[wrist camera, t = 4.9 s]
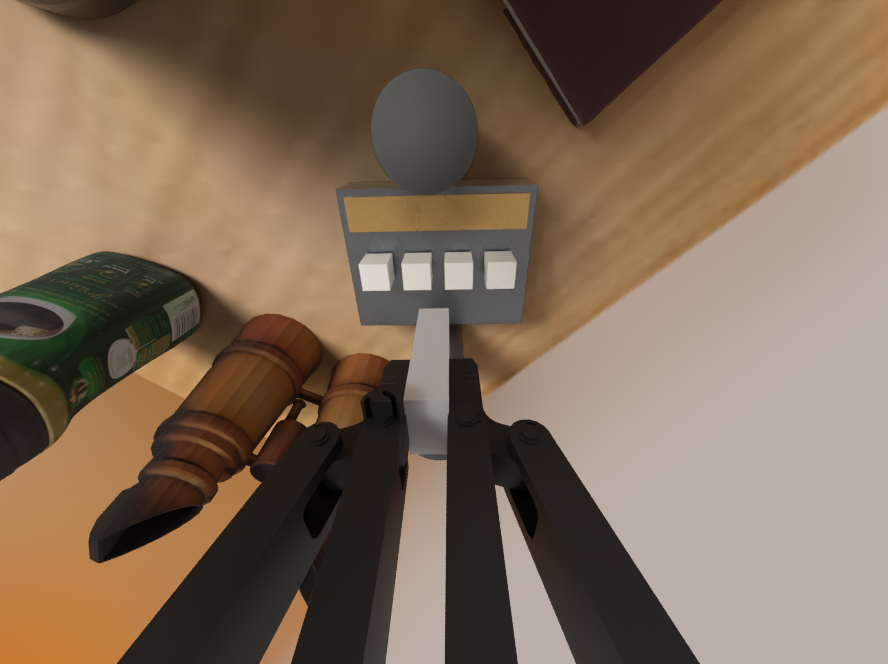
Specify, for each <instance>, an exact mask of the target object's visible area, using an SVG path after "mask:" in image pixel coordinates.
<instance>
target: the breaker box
mask: <svg viewBox="0 0 888 664" xmlns="http://www.w3.org/2000/svg"><path fill="white" fill-rule="evenodd" d="M537 189H538V185H537V184H536V183H534V182H532V181H530V180H528V179H527V178H509V179H468V180H460V181H458V182H457V183H456V184H455V185H454V186H452V187H451V188H449V189H447V190H445V191H443V192H440V193H436V194H429V195H423V194H416V193H412V192H409V191H407V190H405V189H403V188H401V187H400V186H398V185H397V184H396V183H394V182H393V181H384V182H350V183H348V184H346V185H344V186H342V187H340V188H338V189H336V194H337V199H338V205H339V210H340V215H341V221H342V226H343V231H344V237H345V242H346V247H347V253H348V258H349V263H350V269H351V274H352V280H353V285H354V290H355V296H356V301H357V306H358V312H359V317H360V322H361V325H416V324H417V319H418V313H419V309H436V308H449V324H502V323H521V320H522V312H523V304H524V295H525V287H526V279H527V271H528V263H529V254H530V246H531V238H532V230H533V222H534V213H535V205H536V197H537ZM488 251H511V252H512V254H513V256H514V258H515V259H516V261H517V265H516V275H515V285H514V289H486V285H485V281H484V277H483V272H484V252H488ZM445 252H471V254H472V259H473V289H457V290H445V267H444V260H445ZM383 253H392V256H393V265H394V274H395V279H394V282H393V284H392V287H391V290H390V291H363V288H362V283H361V277H360V271H359V263H360V262H361V260H362V259H363V257H364V256H365V255H366V254H383ZM405 253H432V274H433V279H432V288H431V290H404V287H403V276H402V266H401V263H402V261H403V258H404V255H405Z"/></svg>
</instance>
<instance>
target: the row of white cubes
mask: <svg viewBox="0 0 888 664" xmlns="http://www.w3.org/2000/svg"><path fill="white" fill-rule="evenodd" d="M516 265H517V261H516V259H515V258H514V256H513V254H512V252H511V251H488V252H484V272H483V277H484V281H485V285H486V289H514V285H515V275H516ZM401 266H402V276H403V287H404V290H431V288H432V279H433V274H432V253H405V255H404V258H403V261H402V263H401ZM444 267H445V290H457V289H473V259H472V254H471V252H445V260H444ZM359 271H360V277H361V283H362V288H363V291H390V290H391V287H392V284H393V282H394V279H395V274H394V265H393V256H392V253H383V254H366V255H365V256H364V257H363V259H362V260H361V262H360V263H359Z"/></svg>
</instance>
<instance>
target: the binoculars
mask: <svg viewBox="0 0 888 664" xmlns="http://www.w3.org/2000/svg"><path fill="white" fill-rule="evenodd" d="M321 357H322V351H321V347H320V343H319V342H318V340H317V338H316V337H315V335H314V334H313V333H312V332H311V331H310V330H309V329H308V328H307V327H306V326H305V325H303V324H301V323H300V322H298V321H296V320H294V319H293V318H289V317H286V316H283V315H279V314H263V315H260V316H256V317H254V318H252V319H251V320H250V321H248V322H247V323H246V324H245V325H244V327H243V328H242V329H241V331H240V332H239V334H238V335H237V336H236V338H235V339H234V340H233V342H232V343H231V344H230V345H229V346H227V347H226V348H225V349H223V350H222V351H221V352H220V353H219V354H218V355H217V356H216V358H215V360H214V362H213V364H212V367H211V368H210V369H209V371H208V372H207V373H206V374H205V376H204V377H203V378H202V379H201V381H200V382H199V383H198V384H197V386H196V387H195V388H194V389H193V390H192V392H191V393H190V394H189V395H188V397H187V398H186V399H185V401H184V402H183V403H182V404H181V405H180V407H179V408H178V409H177V410H176V412H175V413H174V414H173V415H172V416H171V417H169V418H167V419H166V420H165V421H164V422H163V423H162V424H161V425H160V426H159V427H158V428H157V430H156V432H155V435H154V442H153V444H152V446H151V451H152V455H153V459H152V460H151V461H150V462H149V463H148V464H147V465H146V466H145V467H144V468H143V469H142V470H141V471H140V473H139V476H138V480H139V483H137V484H136V485H134V486H132V487H131V488H128V489H126V490H123V491H122V492H121V493H120V494H119V495H118V496H117V497H116V498H115V500H114V501H113V502H112V503H111V504H110V505H109V506H108V507H107V509H106V510H105V511H104V512H103V513H102V514H101V515H100V516H99V518H98V519H97V520H96V522H95V524H94V526H93V528H92V530H91V532H90V537H89V554H90V559H91V560H93V561H95V562H97V563H102V562H105V561H108V560H111V559H113V558H116V557H119V556H121V555H124V554H126V553H128V552H130V551H133V550H135V549H138V548H140V547H142V546H144V545H146V544H148V543H150V542H152V541H154V540H157V539H159V538H161V537H162V536H164V535H166V534H168V533H170V532H172V531H173V530H175V529H177V528H179V527H180V526H182V525H183V524H185V523H187V522H188V521H190V520H191V519H192V518H194V517H195V516H196V515H197V514H199V513H200V511H201V510H202V508H203V505H205V504H207V503H209V502H211V500H212V499H213V497H214V496H215V494H216V493H217V491H218V485H217V483H219V482H224V481H226V480H228V479H230V478H231V477H232V476H233V475H235V474H237V473H239V472H240V471H242V470H243V469H244V468H245V466H246V465H248V466H251V467H250V472H251V475H252V476H253V477H254V478H255V479H257V480H258V481H260V482H263V480H264V479H265V478H266V477H267V475H268V474H269V473H270V472H271V470H272V469H273V468H274V467H275V465H276V464H277V463H278V462H279V460H280V459H281V458H282V457H283V455H284V454H285V453H286V452H287V450H288V449H289V448H290V447H291V445H292V444H293V443H294V442H295V440H296V439H297V438H298V437H299V435H300V434H301V433H302V432H303V431H304V430H305V429H306V426H304V425H303V424H302V423H300V422H298V421H296V419H297V417H298V415H299V413H300V411H301V410H302V408H305V407H306V403H305V402H304V401H303V400H306V401H308V402H311V403H314V404H316V405H319V408H318V418H317V421H316V423H319V422H332V423H334V424H336V425H337V426H338V428H339V429H341V428H345V427H349V426H352V425H355V424H358V423H360V422H361V421H363V420H364V418H363V413H362V409H361V404H360V401H361V399H362V398H363V396H365V395H366V394H367V393H368V392H370V391H373V390H375V389H378V388H379V385H380V381H381V378H382V374H383V370H384V367H385V366H386V365H387V364H388V363H389V362H390V361H388V360H386V359H385V358H383V357H380V356H376V355H373V354H362V353H358V354H354V355H349V356H347V357H345V358H343V359H342V360H340V361H339V362H338V363H337V364H336V366H335V367H334V368H333V372H332V375H331V379H330V382H329V386H328V389H327V393H326V394H325V395H324V396H323V397H322V396H320V395H317V394H314V393H312V392H309V391H307V390H304V389H302V385H303V384H304V383H305V382H306V381H307V379H308V378H309V377H310V376H311V374H312V373H313V372H314V371H315V370H316V368H317V367H318V365H319V364H320V362H321ZM296 398H300V399H296ZM301 399H303V400H301ZM292 403H293V407H292V408H291V410H290V412H289V414H288V415H287V417H286V419H285V420H281V421H279V422H277V424H276V425H275V427H274V428H273V430H272V432H271V433H270V435H269V437H268V438H267V440H266V442H265V443H264V445H263V447H262V449H261V450H260V452H259V454H258V455H255V454H253V451H254V449H255V448H256V447H257V445H258V444H259V443H260V441H261V440H262V439H263V437H264V436H265V435H266V433H267V432H268V431H269V429H270V428H271V427H272V426H273V424H274V423H275V422H276V420H277V419H278V418H279V416H280V415H281V414H282V412H283V411H284V410H285V408H286V407H287V406H289V405H290V404H292ZM331 528H332V527H331ZM330 532H331V529H330V531H329V533H328V535H327V537H326V539H325V541H324V542H323V544H322V546H321V548H320V550H319V552H318V554H317V556H316V558H315V559H314V561H313V563H312V565H311V567H310V569H309V571H308V573H307V575H306V576H305V578H304V580H303V582H302V584H301V586H300V588H299V590H300V592H301V594H302V597H303V598H304V600H305V602H306V604H307V606H308V605H309V602H310V599H311V595H312V592H313V589H314V585H315V582H316V578H317V575H318V572H319V568H320V565H321V562H322V558H323V555H324V552H325V548H326V545H327V542H328V538H329V535H330Z"/></svg>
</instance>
